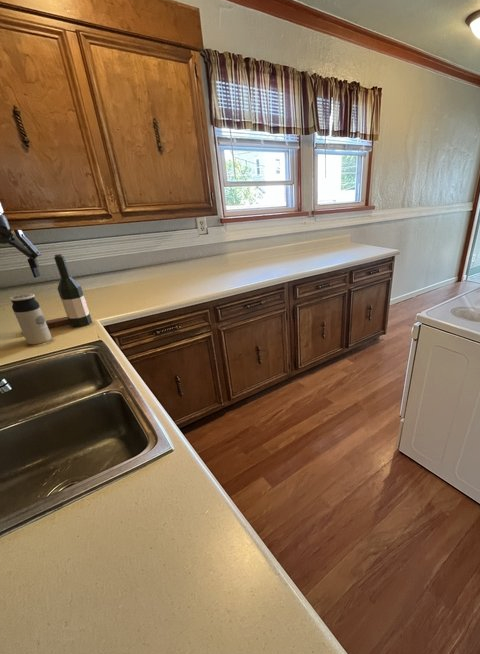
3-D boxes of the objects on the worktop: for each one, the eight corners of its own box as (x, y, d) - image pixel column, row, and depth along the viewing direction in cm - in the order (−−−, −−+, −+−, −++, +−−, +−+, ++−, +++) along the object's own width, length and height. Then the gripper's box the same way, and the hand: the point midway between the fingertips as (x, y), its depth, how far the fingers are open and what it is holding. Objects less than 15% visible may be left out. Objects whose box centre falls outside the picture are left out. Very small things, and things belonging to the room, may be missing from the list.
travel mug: (22, 343, 127) (3, 298, 118) (42, 335, 133) (25, 292, 125) (36, 346, 124) (18, 300, 116) (56, 337, 131) (40, 294, 123)
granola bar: (38, 330, 138) (36, 325, 137) (37, 327, 141) (35, 322, 140) (71, 323, 144) (69, 318, 143) (69, 321, 148) (67, 316, 146)
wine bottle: (96, 321, 147) (75, 253, 133) (81, 328, 140) (56, 257, 126) (82, 319, 149) (59, 252, 135) (65, 326, 142) (40, 256, 128)
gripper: (37, 213, 114) (59, 273, 124) (-44, 215, 110) (-16, 277, 120) (25, 214, 107) (49, 278, 117) (-62, 216, 104) (-30, 282, 113)
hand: (16, 277), depth 118 cm, fingers open, 13 cm apart
